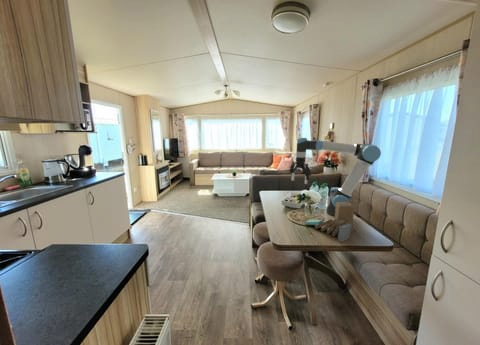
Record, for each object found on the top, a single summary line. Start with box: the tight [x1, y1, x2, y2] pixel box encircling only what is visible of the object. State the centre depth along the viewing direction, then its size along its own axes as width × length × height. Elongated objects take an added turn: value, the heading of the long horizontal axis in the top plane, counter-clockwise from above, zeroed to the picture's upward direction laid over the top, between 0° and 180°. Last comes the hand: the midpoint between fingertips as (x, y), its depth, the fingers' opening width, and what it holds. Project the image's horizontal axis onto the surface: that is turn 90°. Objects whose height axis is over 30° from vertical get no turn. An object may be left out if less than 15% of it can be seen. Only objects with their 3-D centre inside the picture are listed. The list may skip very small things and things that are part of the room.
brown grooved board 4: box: [325, 219, 342, 235], centre depth 145 cm, size 2×6×12 cm
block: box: [333, 202, 355, 234], centre depth 152 cm, size 10×10×20 cm
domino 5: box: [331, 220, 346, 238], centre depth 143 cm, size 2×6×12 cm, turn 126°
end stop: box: [337, 223, 351, 242], centre depth 140 cm, size 9×3×10 cm, turn 126°
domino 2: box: [314, 218, 333, 230], centre depth 152 cm, size 2×6×12 cm
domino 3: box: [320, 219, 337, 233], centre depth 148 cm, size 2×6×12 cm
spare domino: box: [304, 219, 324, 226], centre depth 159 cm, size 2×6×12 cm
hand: (299, 182), depth 176 cm, fingers open, 13 cm apart
